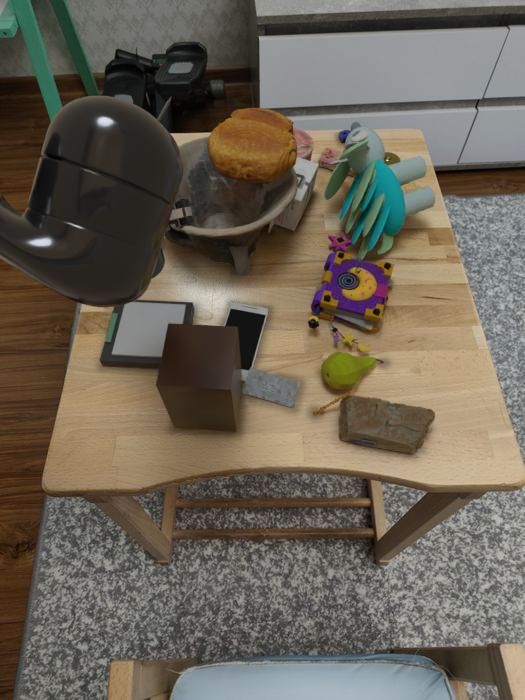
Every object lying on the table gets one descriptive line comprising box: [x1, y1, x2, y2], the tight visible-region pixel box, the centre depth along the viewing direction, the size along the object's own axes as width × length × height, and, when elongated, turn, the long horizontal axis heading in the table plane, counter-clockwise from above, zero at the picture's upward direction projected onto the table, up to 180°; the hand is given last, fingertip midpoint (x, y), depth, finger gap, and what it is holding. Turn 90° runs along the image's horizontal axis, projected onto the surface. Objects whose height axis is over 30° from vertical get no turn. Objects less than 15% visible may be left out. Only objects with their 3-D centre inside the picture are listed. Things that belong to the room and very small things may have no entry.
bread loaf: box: [207, 107, 297, 183], centre depth 82 cm, size 14×16×8 cm
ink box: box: [267, 157, 320, 234], centre depth 97 cm, size 8×5×15 cm
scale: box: [99, 299, 195, 370], centre depth 84 cm, size 14×13×3 cm
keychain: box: [312, 390, 355, 416], centre depth 75 cm, size 8×1×1 cm
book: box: [307, 231, 396, 352], centre depth 84 cm, size 14×25×12 cm, turn 162°
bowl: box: [164, 136, 298, 278], centre depth 90 cm, size 27×26×15 cm
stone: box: [338, 394, 436, 455], centre depth 73 cm, size 14×7×5 cm, turn 78°
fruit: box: [321, 351, 385, 390], centre depth 79 cm, size 6×6×12 cm
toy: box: [317, 147, 357, 178], centre depth 107 cm, size 12×2×5 cm
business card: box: [240, 367, 301, 408], centre depth 79 cm, size 9×5×1 cm, turn 74°
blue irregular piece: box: [337, 129, 351, 144], centre depth 112 cm, size 9×5×3 cm, turn 40°
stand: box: [155, 323, 243, 432], centre depth 72 cm, size 10×10×15 cm
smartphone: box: [223, 301, 269, 383], centre depth 84 cm, size 7×16×1 cm, turn 167°
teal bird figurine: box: [324, 121, 436, 261], centre depth 91 cm, size 14×26×18 cm
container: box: [293, 127, 315, 161], centre depth 103 cm, size 10×10×8 cm
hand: (129, 228), depth 57 cm, fingers closed on jar, 6 cm apart
